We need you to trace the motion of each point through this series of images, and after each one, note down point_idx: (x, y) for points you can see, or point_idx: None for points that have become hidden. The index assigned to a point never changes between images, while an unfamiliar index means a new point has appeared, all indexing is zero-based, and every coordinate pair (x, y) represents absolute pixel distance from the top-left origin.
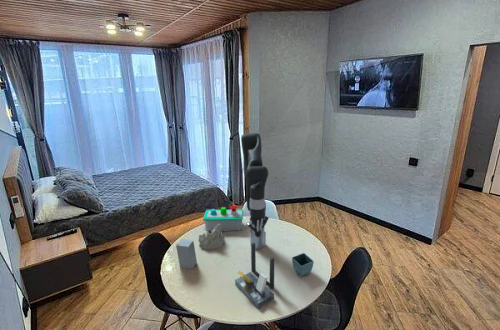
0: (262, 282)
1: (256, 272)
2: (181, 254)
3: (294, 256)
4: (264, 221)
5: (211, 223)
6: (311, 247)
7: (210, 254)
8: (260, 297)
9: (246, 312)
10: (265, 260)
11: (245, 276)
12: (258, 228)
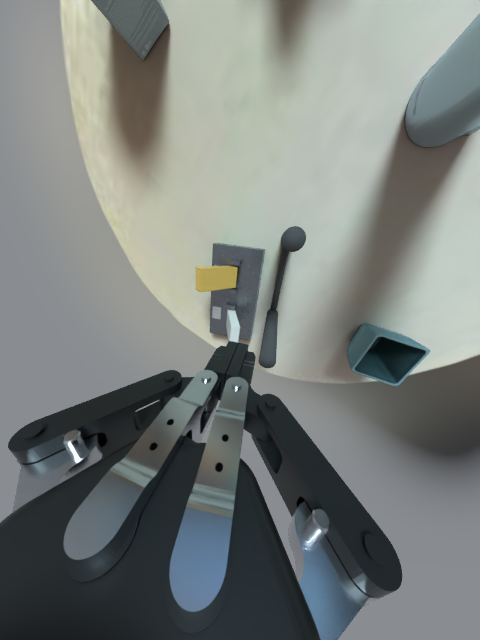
0: (228, 334)
1: (283, 255)
2: None
3: (388, 337)
4: (288, 497)
5: None
6: None
7: None
8: (223, 326)
9: (193, 316)
10: (357, 225)
11: (208, 290)
12: (205, 424)
